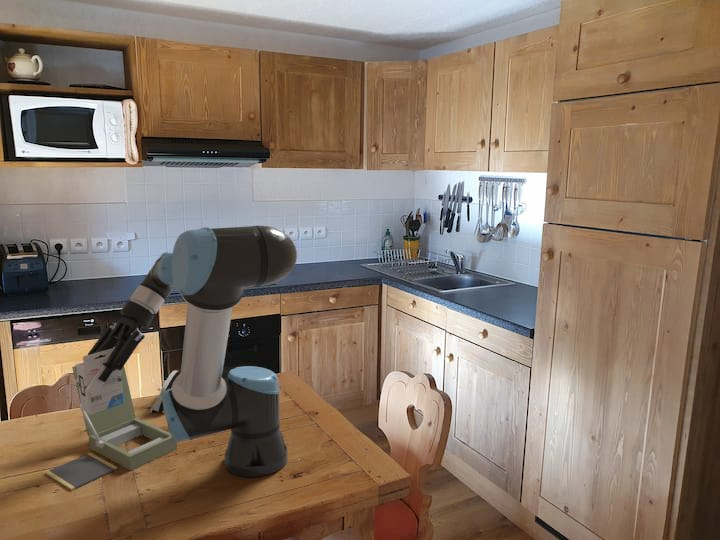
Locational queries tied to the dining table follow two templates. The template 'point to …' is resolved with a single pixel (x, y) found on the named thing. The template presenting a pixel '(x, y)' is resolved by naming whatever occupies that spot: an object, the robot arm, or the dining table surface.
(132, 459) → the case
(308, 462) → the dining table surface
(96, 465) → the mat
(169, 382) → the white black curved block
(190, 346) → the robot arm
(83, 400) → the ink box
